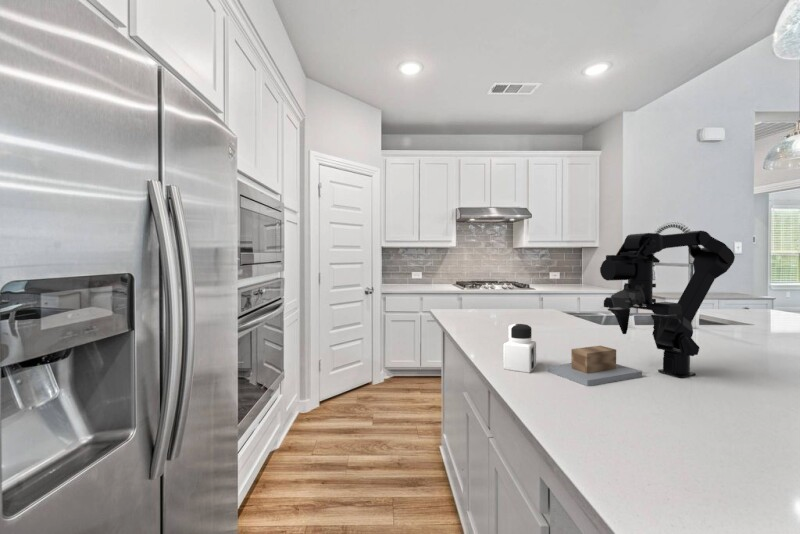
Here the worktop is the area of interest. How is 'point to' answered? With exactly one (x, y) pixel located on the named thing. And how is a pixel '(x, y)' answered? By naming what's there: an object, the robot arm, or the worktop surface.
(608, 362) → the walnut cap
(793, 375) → the worktop surface
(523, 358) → the container
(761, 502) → the worktop surface
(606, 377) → the pin board
